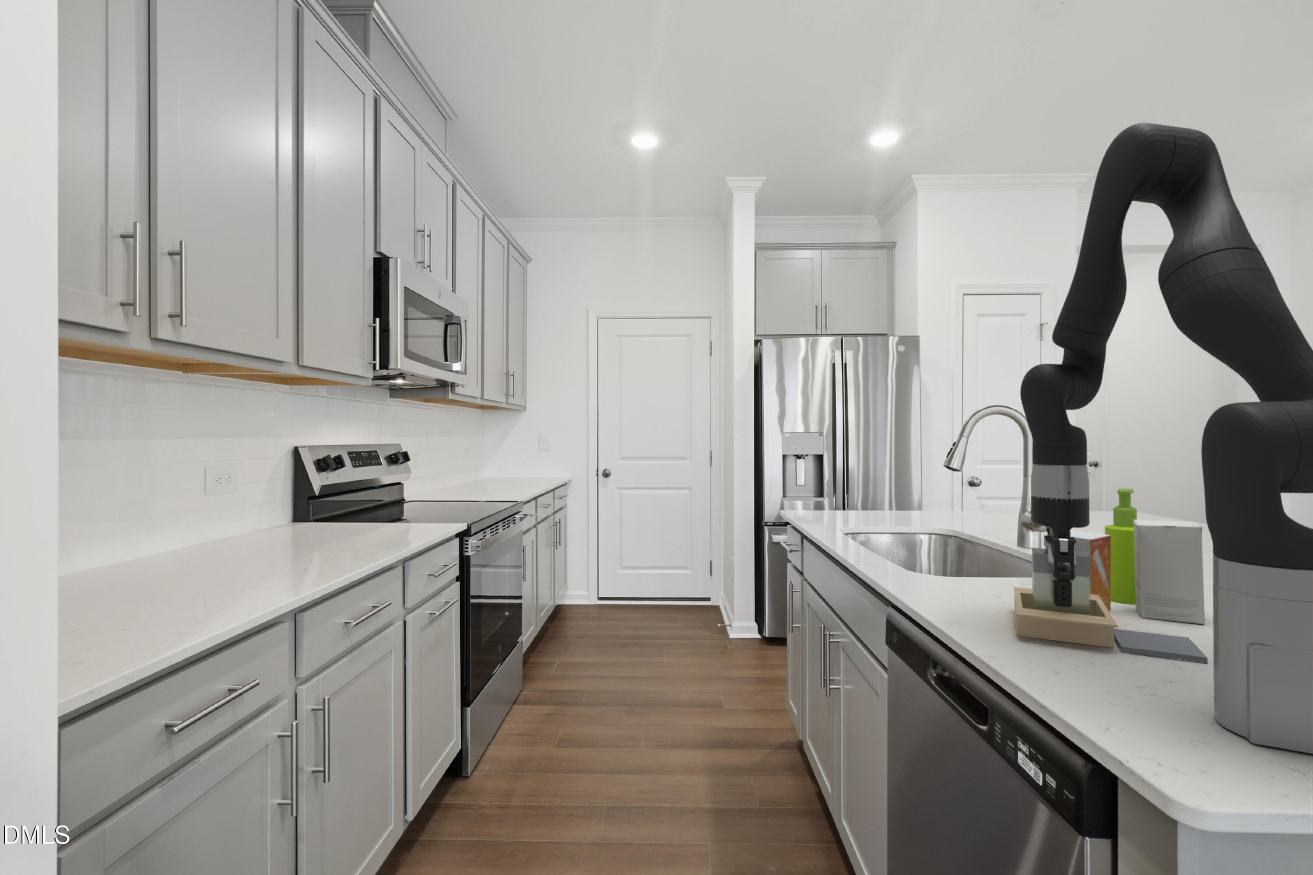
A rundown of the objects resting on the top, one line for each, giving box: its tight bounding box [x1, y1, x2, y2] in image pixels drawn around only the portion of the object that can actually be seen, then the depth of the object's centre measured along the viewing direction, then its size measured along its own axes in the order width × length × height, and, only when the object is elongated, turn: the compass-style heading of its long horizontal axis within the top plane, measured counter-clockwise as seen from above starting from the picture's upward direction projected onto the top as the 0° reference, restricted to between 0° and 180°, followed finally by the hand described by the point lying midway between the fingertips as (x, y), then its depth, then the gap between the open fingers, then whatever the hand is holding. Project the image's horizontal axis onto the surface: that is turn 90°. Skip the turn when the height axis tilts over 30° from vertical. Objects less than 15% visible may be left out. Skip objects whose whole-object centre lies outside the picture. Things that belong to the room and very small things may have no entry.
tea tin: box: [1031, 547, 1090, 616], centre depth 94 cm, size 5×7×12 cm, turn 61°
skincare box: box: [1133, 519, 1206, 625], centre depth 100 cm, size 8×7×16 cm
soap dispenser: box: [1104, 488, 1138, 605], centre depth 110 cm, size 6×7×20 cm
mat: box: [1114, 628, 1209, 665], centre depth 86 cm, size 9×9×1 cm
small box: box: [1070, 530, 1112, 612], centre depth 104 cm, size 8×6×13 cm
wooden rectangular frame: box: [1013, 586, 1119, 649], centre depth 94 cm, size 18×12×4 cm, turn 151°
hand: (1060, 599), depth 94 cm, fingers open, 8 cm apart
